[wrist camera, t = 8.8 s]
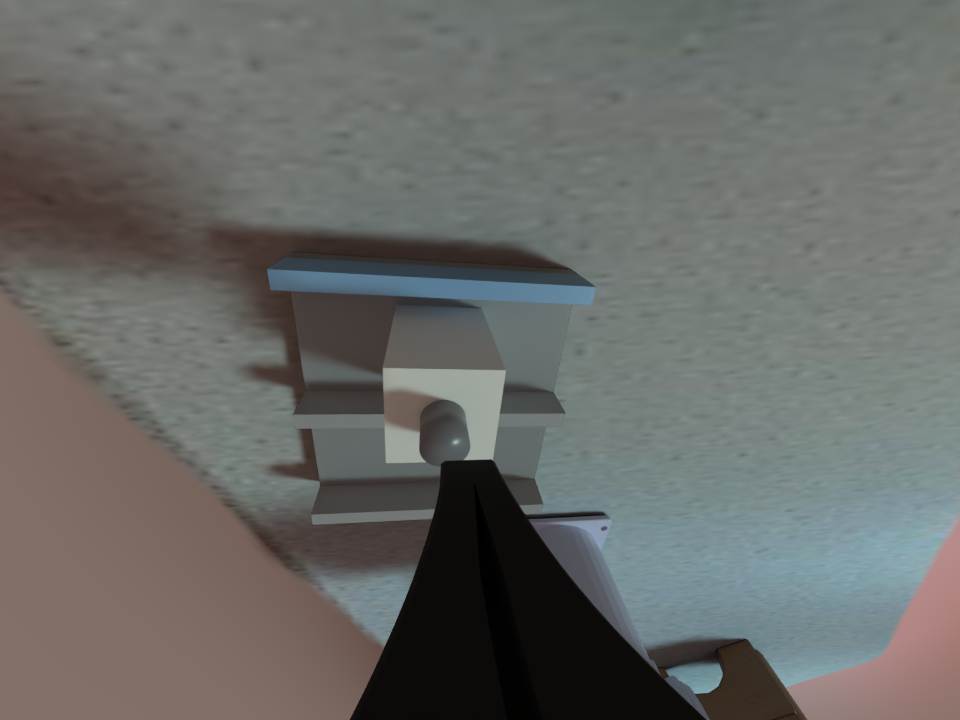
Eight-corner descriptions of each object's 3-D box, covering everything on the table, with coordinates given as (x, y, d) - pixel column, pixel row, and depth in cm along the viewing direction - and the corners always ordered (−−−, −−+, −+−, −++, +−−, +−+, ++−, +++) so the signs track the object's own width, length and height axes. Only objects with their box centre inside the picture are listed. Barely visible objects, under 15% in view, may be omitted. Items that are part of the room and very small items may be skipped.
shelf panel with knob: (528, 476, 25) (541, 513, 22) (325, 482, 22) (312, 524, 20) (571, 269, 18) (596, 287, 15) (292, 252, 16) (266, 269, 13)
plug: (474, 380, 19) (499, 491, 13) (397, 379, 19) (381, 495, 12) (481, 308, 17) (515, 394, 11) (396, 304, 17) (376, 393, 10)
